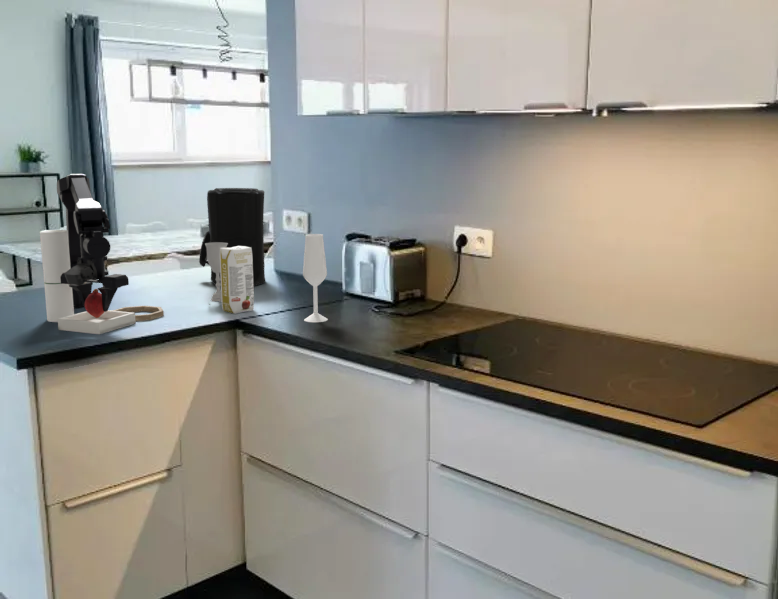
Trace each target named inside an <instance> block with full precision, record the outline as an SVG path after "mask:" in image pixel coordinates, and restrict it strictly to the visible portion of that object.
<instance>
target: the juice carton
mask: <svg viewBox="0 0 778 599" xmlns="http://www.w3.org/2000/svg"><path fill="white" fill-rule="evenodd" d="M220 277H221V286H220V291H221V301H220V302H221V307H222V311H223V312H225V313H229V314H234V315H235V314H241V313H246V312H247V313H248V312H252V311H254V309H255V308H254V307H255V293H254V291H255V290H254V289H255V288H254V287H255V286H254V287H253V258H252V248H251V247H246V246H235V247H231V248H220Z"/></svg>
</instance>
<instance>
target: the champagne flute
mask: <svg viewBox="0 0 778 599" xmlns="http://www.w3.org/2000/svg"><path fill="white" fill-rule="evenodd" d="M325 251H326V250H325V243H324V234H323V233H322V234H321V233H308V234H305V239H304V251H303V252H304V254H303V264H302V265H303V268H302V277H303V278H304V280H306V282H308V283H309V285H310V286H312V291H313V292H312V293H313V295H312V297H313V298H312V299H313V302H312V303H313V313H312V314H310V315H309V316H307V317H306V318H304V320H303V321H304V322H307V323H323V322H327V321H328V320H329V319H328V318H327V317H325V316H324V315H322V314H320V313H319V312H318V311H319V307H318V304H319V303H318V302H319V298H318V286H320V285H321V284H322V283H323V281H324V280H325V279H326V277H327V275H328V270H327V259H326V252H325Z"/></svg>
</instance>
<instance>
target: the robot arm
mask: <svg viewBox="0 0 778 599" xmlns="http://www.w3.org/2000/svg"><path fill="white" fill-rule="evenodd" d="M56 192H57V193H56V194H57V195H59V196H58V197H59V199H60V201H61V202H62V205H64V207H65V221H66V222H65V223H66V225H65V226H66V230H67V231H68V243H69V255H70V268H71V269H69V270H68V271H67V272H65V273H62V275H61V277H60V279H61V284H69V287H72V293H73V306H74V309H75V308H76V309H78V308H79V309H80V308H83V307H84V308H85V300H86V298H87V297H88V296H89V295H90V294H91V293H92V291H93V290H92V289H93V285H94V284H93V283H96V284H101V285H102V286H101V287H97V289H98V292H99V293H101V295H102V305H103V311H104V312H106V311H108V310H109V308H110V305H111V304H112V300H113V298H114V297H115V295H116V293H117V291H118V289H120V288H121V287H125V286H129V285H130V284H129V277H128V275H127V274H121V273H118V274H117V273H113V274H109V271H108V270H105V268H106V267H105V261H108V256H107V255H109V253H110V251H111V243H110V241H109V240H108V239H107V238H106V237H104V234H105V233H110V229H111V224H110V221H109V217H108V213H106V210H105V209H103V207H102V205H101V203H100V202H98V201H96V200H94V198H93V196H92V193H91V184H90V178H88V177H87V174H84V173H70V174H67V175H66V176H64V177H61V178H59V179H58V180H57V182H56Z"/></svg>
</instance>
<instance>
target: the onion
mask: <svg viewBox="0 0 778 599" xmlns="http://www.w3.org/2000/svg"><path fill="white" fill-rule="evenodd" d="M84 310H86V311H87V312H88V313H89V314H90V315H92V316H94V317H95V318H99V317H100V316H101V315H102V314H103V313H104V311H103V305H102V295H101V292H100V291H99V290H98V288H95V289H94V288H93V290H92V291H91V294H90V295H89V296H88V297H87V298H86V300H85V307H84Z"/></svg>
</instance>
